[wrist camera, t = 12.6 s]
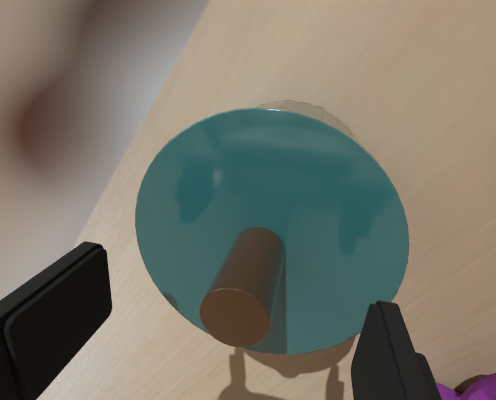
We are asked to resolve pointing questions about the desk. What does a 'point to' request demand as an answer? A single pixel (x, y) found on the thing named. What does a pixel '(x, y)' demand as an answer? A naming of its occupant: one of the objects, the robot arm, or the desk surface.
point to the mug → (472, 390)
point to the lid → (271, 230)
